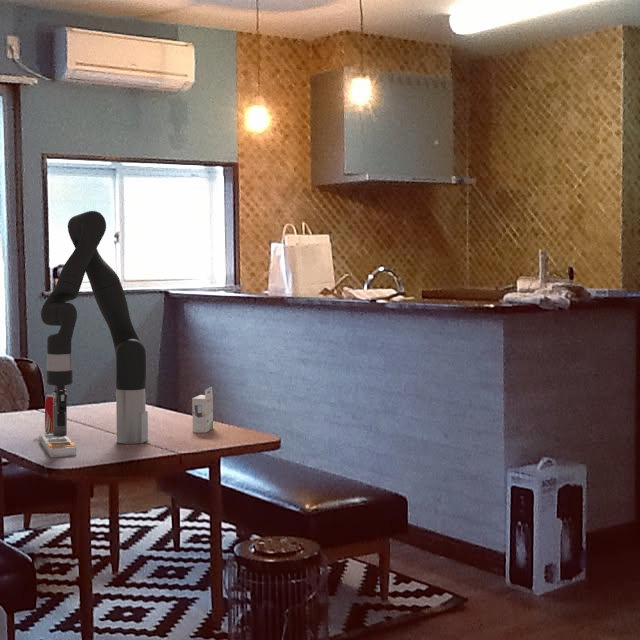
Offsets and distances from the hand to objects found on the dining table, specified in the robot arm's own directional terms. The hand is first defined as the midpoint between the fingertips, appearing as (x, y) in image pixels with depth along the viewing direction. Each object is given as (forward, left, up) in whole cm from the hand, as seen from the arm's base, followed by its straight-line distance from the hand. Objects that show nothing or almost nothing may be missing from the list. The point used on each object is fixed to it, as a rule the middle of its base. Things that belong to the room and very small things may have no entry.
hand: (60, 424), depth 303 cm
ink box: (-32, -46, -9) cm, 56 cm away
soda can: (+15, -32, -9) cm, 36 cm away
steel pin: (0, 0, -3) cm, 3 cm away
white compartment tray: (+4, -7, -9) cm, 12 cm away
